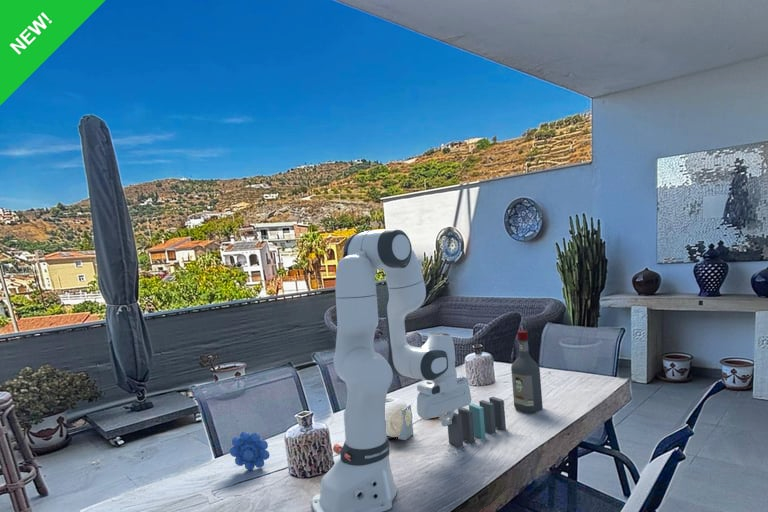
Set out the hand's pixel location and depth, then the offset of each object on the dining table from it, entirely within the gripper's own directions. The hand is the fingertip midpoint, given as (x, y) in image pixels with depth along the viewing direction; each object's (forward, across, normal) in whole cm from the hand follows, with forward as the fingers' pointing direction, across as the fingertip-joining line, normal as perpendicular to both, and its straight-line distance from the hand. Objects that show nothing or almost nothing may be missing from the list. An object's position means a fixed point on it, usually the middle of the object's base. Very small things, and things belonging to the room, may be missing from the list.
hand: (446, 424), depth 132 cm
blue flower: (+7, +56, -28) cm, 63 cm away
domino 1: (+7, -3, 0) cm, 8 cm away
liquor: (+8, -44, -4) cm, 45 cm away
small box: (+7, +7, -18) cm, 21 cm away
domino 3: (+7, -13, 0) cm, 15 cm away
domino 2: (+7, -8, 0) cm, 11 cm away
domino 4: (+7, -18, 0) cm, 20 cm away
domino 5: (+7, -23, 0) cm, 24 cm away
